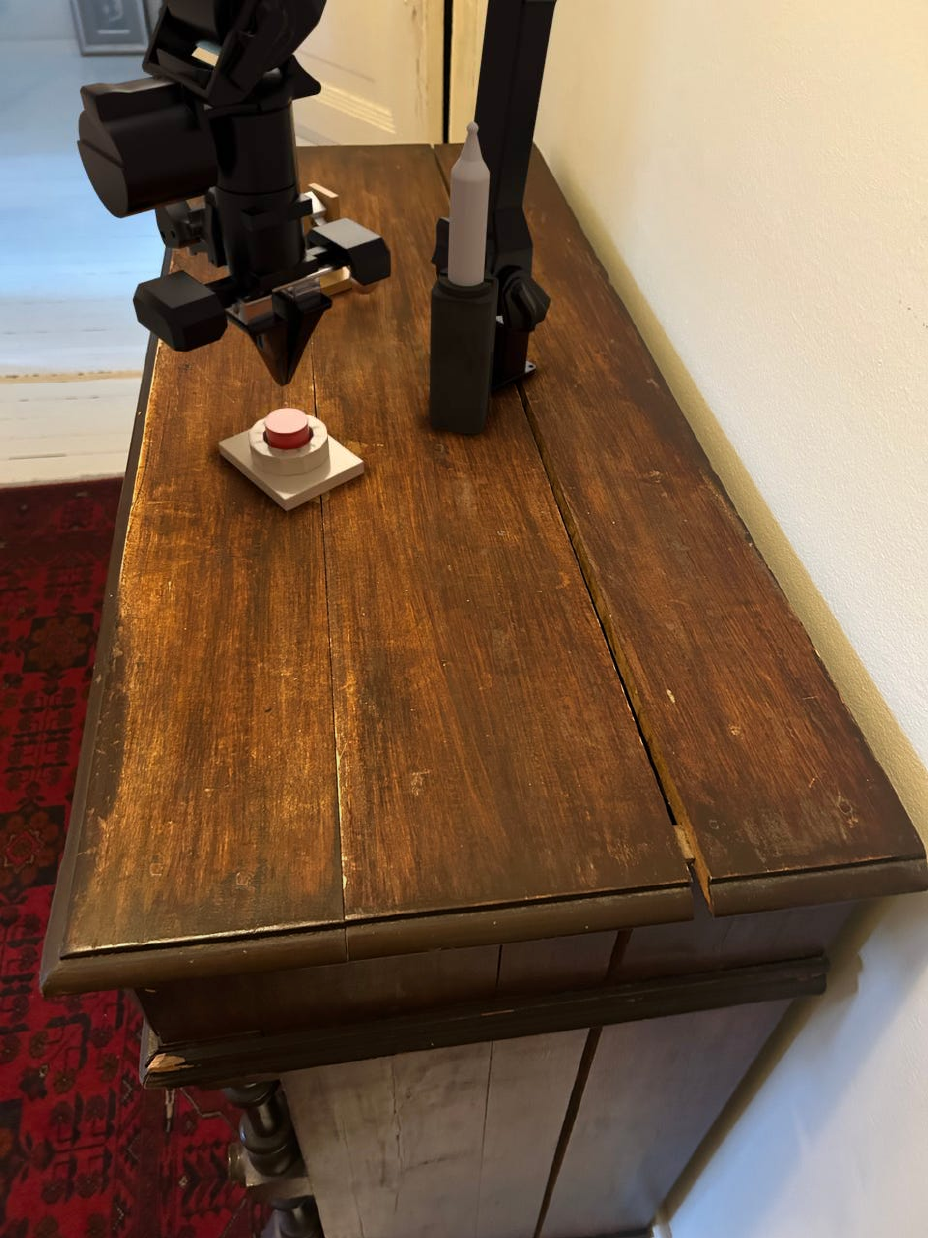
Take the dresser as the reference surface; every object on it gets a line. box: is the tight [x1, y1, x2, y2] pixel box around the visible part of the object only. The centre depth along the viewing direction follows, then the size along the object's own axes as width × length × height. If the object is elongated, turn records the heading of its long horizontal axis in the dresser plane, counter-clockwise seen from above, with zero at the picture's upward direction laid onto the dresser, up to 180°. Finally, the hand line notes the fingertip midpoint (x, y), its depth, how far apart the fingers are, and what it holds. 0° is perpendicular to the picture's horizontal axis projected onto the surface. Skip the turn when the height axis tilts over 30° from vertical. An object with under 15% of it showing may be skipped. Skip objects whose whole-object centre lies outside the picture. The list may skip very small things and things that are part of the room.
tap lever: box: [303, 191, 380, 296], centre depth 93 cm, size 13×3×3 cm, turn 44°
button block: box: [217, 414, 365, 512], centre depth 74 cm, size 10×8×3 cm
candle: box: [428, 121, 499, 436], centre depth 72 cm, size 5×5×25 cm
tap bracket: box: [303, 182, 352, 297], centre depth 95 cm, size 10×8×9 cm
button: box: [264, 407, 310, 450], centre depth 72 cm, size 4×4×2 cm
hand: (282, 382), depth 69 cm, fingers closed
